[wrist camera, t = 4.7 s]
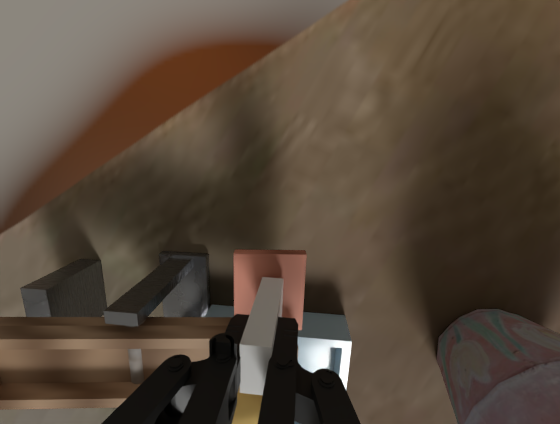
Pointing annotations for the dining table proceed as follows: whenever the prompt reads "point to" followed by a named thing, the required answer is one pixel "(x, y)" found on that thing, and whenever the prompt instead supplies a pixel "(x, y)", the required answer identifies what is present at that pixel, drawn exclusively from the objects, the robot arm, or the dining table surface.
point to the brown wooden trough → (125, 342)
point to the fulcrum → (166, 291)
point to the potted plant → (501, 369)
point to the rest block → (67, 292)
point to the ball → (247, 408)
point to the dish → (315, 341)
